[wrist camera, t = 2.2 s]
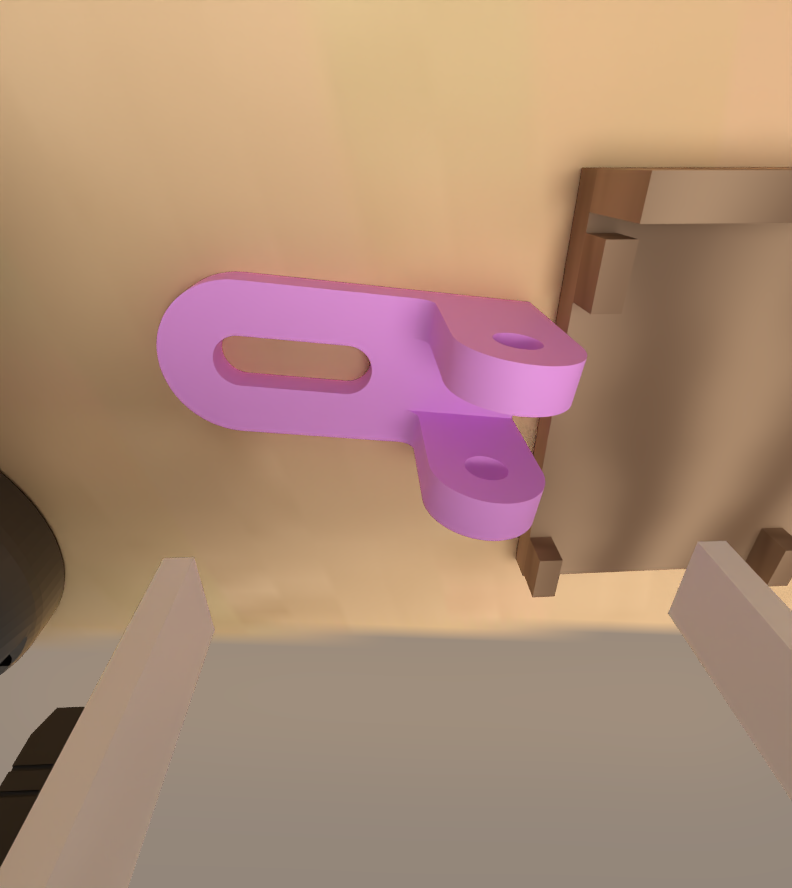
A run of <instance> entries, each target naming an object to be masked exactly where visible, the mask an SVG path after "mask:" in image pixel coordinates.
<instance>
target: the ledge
mask: <svg viewBox="0 0 792 888" xmlns="http://www.w3.org/2000/svg"><path fill="white" fill-rule="evenodd" d="M556 325H557V326H558V327H559V328H560V329H561V330H563V331H564V332H565V333H566V334H567V335H569V336H570V337H571V338H572V339H573V340H574V341H576V342H577V343H578V344H579V345H580V346H581V347H582V348H584V349H585V351H586V352H587V359H586V362H585V365H584V368H583V371H582V374H581V377H580V380H579V383H578V386H577V389H576V392H575V396H574V399H573V402H572V405H571V407H570V408H569V409H568V410H567V411H565V412H564V413H561V414H558V415H554V416H548V417H540V419H539V425H538V431H537V437H536V442H535V448H534V454H533V456H534V458H535V460H536V461H537V463H538V465H539V467H540V468H541V470H542V472H543V474H544V477H545V487H544V490H543V493H542V496H541V499H540V502H539V505H538V508H537V511H536V514H535V517H534V520H533V523H532V525H531V527H530V528H529V530H528V531H526V532H525V533H524V534H522V535H520V537H519V543H518V548H517V554H516V560H517V562H518V565H519V568H520V570H521V573H522V575H523V576H525V579H526V581H527V584H528V587H529V589H530V592H531V594H532V597H549V596H555V592H556V587H557V583H558V579H559V575H560V574H576V573H598V572H621V571H644V570H667V569H687V566H688V564H689V562H690V559H691V557H692V554H693V552H694V549H695V547H696V545H697V542H706V541H726V542H727V543H728V544H729V545H730V546H731V547H732V548H733V549H734V550H735V551H736V552H737V553H738V554H739V555H740V556H741V558H742V559H743V560H744V561H745V562H746V563H747V564H748V565H749V566H750V567H751V568H752V569H753V570H754V571H755V572H756V574H757V575H758V576H759V577H760V578H761V579H762V580H763V581H764V582H765V583H766V584H767V585H768V586H787V585H788V583H789V582H790V580H791V578H792V167H752V168H582V172H581V178H580V184H579V189H578V195H577V201H576V207H575V213H574V219H573V225H572V231H571V237H570V242H569V248H568V254H567V260H566V266H565V272H564V278H563V284H562V290H561V295H560V301H559V307H558V313H557V319H556Z"/></svg>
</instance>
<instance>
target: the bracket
mask: <svg viewBox="0 0 792 888" xmlns="http://www.w3.org/2000/svg"><path fill="white" fill-rule="evenodd" d="M229 336H247V337H258V338H269V339H280V340H291V341H302V342H313V343H324V344H335V345H346V346H352V347H355V348H358V349H360V350H361V351H362V352H364V353H365V354H366V355H367V357H368V358H369V360H370V362H371V365H370V367H369V369H368V371H367V372H366V373H365V374H364V375H363V376H362V377H360V378H358V379H356V380H351V381H343V380H331V379H319V378H307V377H295V376H283V375H271V374H260V373H248V372H243V371H240V370H238V369H236V368H234V367H233V366H232V365H231V364H230V363H229V362H228V361H227V360H226V358H225V356H224V354H223V351H222V340H223V339H224V338H226V337H229ZM157 356H158V361H159V365H160V368H161V371H162V373H163V376H164V378H165V380H166V382H167V384H168V385H169V387H170V388H171V390H172V391H173V392H174V394H175V395H176V396H177V397H178V399H179V400H180V401H181V402H182V403H183V404H184V405H185V406H187V407H188V408H189V409H190V410H191V411H193V412H194V413H195V414H197V415H198V416H200V417H202V418H203V419H205V420H207V421H209V422H211V423H214V424H216V425H219V426H222V427H225V428H229V429H234V430H241V431H254V432H268V433H283V434H297V435H311V436H325V437H340V438H354V439H368V440H382V441H396V442H404V443H407V444H409V445H411V446H412V447H413V449H414V454H415V459H416V465H417V471H418V476H419V482H420V488H421V494H422V499H423V503H424V506H425V508H426V509H427V511H428V512H429V514H430V515H431V516H432V517H433V518H434V519H435V520H436V521H438V522H439V523H440V524H442V525H443V526H445V527H446V528H448V529H450V530H452V531H454V532H456V533H458V534H461V535H464V536H467V537H470V538H474V539H479V540H487V541H501V540H508V539H512V538H516V537H518V536H520V535H522V534H524V533H525V532H526V531H528V530H529V528H530V527H531V525H532V523H533V520H534V517H535V514H536V511H537V508H538V505H539V502H540V499H541V496H542V493H543V490H544V487H545V477H544V474H543V472H542V470H541V468H540V467H539V465H538V463H537V461H536V460H535V458H534V456H533V454H532V453H531V451H530V449H529V447H528V446H527V444H526V442H525V441H524V439H523V437H522V435H521V434H520V432H519V430H518V428H517V427H516V425H515V423H514V421H513V420H512V416H513V415H514V416H522V417H548V416H554V415H558V414H561V413H564V412H565V411H567V410H568V409H569V408H570V407H571V405H572V402H573V399H574V396H575V392H576V389H577V386H578V383H579V380H580V377H581V374H582V371H583V368H584V365H585V362H586V359H587V352H586V351H585V349H584V348H582V347H581V346H580V345H579V344H578V343H577V342H576V341H574V340H573V339H572V338H571V337H570V336H569V335H567V334H566V333H565V332H564V331H563V330H561V329H560V328H559V327H558V326H557V325H556V324H554V323H553V322H552V321H551V320H550V319H549V318H547V317H546V316H545V315H544V314H543V313H542V312H540V311H539V310H538V309H537V308H536V307H535V306H533V305H532V304H531V303H530V302H524V301H515V300H505V299H496V298H486V297H477V296H467V295H458V294H448V293H439V292H429V291H420V290H410V289H401V288H391V287H382V286H372V285H363V284H353V283H344V282H334V281H325V280H315V279H306V278H296V277H287V276H277V275H268V274H258V273H249V272H225V273H219V274H215V275H212V276H209V277H207V278H205V279H202V280H201V281H199V282H197V283H196V284H194V285H193V286H191V287H190V288H189V289H187V290H186V291H185V292H183V293H182V294H181V295H180V296H178V297H177V298H176V299H175V300H174V301H173V302H172V303H171V305H170V306H169V307H168V309H167V310H166V312H165V314H164V315H163V317H162V320H161V322H160V325H159V329H158V333H157Z"/></svg>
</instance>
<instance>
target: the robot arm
mask: <svg viewBox="0 0 792 888" xmlns="http://www.w3.org/2000/svg"><path fill="white" fill-rule="evenodd" d="M63 588H64V565H63V561H62V556H61V553H60V550H59V547H58V545H57V542H56V540H55V538H54V536H53V534H52V532H51V530H50V528H49V527H48V525H47V523H46V522H45V520H44V519H43V517H42V516H41V515H40V513H39V512H38V510H37V509H36V508H35V507H34V505H33V504H32V503H31V502H30V501H29V499H28V498H27V497H26V496H25V495H24V494H23V493H22V492H21V491H20V490H19V489H18V488H17V487H16V486H15V485H14V484H13V483H12V482H11V481H10V480H9V479H7V478H6V477H5V476H4V475H3V474H1V473H0V675H1V674H2V673H3V672H5V671H6V670H7V669H8V668H10V667H11V666H12V665H13V664H14V663H16V662H17V661H18V660H19V659H20V658H21V656H23V654H24V653H25V652H26V651H27V650H28V649H29V648H30V646H31V645H32V644H33V642H34V641H35V639H36V638H37V636H38V635H39V634H40V632H41V631H42V629H43V628H44V626H45V625H46V623H47V622H48V620H49V619H50V618H51V616H52V615H53V613H54V612H55V610H56V608H57V606H58V604H59V602H60V600H61V597H62V593H63ZM668 614H669V615H670V617H671V619H672V620H673V622H674V623H675V625H676V626H677V628H678V629H679V631H680V632H681V634H682V635H683V637H684V638H685V640H686V641H687V643H688V644H689V646H690V647H691V649H692V650H693V652H694V653H695V655H696V656H697V658H698V660H699V661H700V663H701V664H702V665H703V667H704V668H705V670H706V672H707V673H708V675H709V676H710V678H711V679H712V681H713V682H714V684H715V685H716V687H717V688H718V690H719V691H720V693H721V694H722V696H723V697H724V699H725V700H726V702H727V704H728V705H729V707H730V708H731V710H732V711H733V713H734V714H735V716H736V717H737V719H738V720H739V722H740V723H741V725H742V726H743V728H744V729H745V731H746V732H747V734H748V735H749V737H750V738H751V740H752V742H753V743H754V745H755V746H756V748H757V749H758V751H759V752H760V754H761V755H762V757H763V758H764V760H765V761H766V763H767V764H768V766H769V767H770V769H771V770H772V772H773V773H774V775H775V776H776V778H777V779H778V781H779V783H780V784H781V785H782V787H783V788H784V790H785V791H786V793H787V795H788V796H789V798H790V799H791V801H792V611H791V610H790V609H789V608H788V607H787V606H786V604H785V603H784V602H783V601H782V600H781V599H780V598H779V597H778V596H777V595H776V594H775V593H774V592H773V591H772V590H771V588H770V587H769V586H768V585H767V584H766V583H765V582H764V581H763V580H762V579H761V578H760V577H759V576H758V575H757V574H756V572H755V571H754V570H753V569H752V568H751V567H750V566H749V565H748V564H747V563H746V562H745V561H744V560H743V559H742V558H741V556H740V555H739V554H738V553H737V552H736V551H735V550H734V549H733V548H732V547H731V546H730V545H729V544H728V543H727V542H726V541H706V542H697V545H696V547H695V549H694V552H693V554H692V557H691V559H690V562H689V564H688V566H687V569H686V571H685V574H684V576H683V579H682V581H681V583H680V586H679V588H678V591H677V593H676V596H675V598H674V601H673V603H672V605H671V608H670V610H669V613H668ZM214 630H215V629H214V626H213V622H212V619H211V615H210V612H209V608H208V605H207V601H206V597H205V594H204V590H203V587H202V583H201V580H200V576H199V573H198V569H197V566H196V562H195V558H194V557H182V558H163V560H162V562H161V564H160V566H159V568H158V569H157V571H156V573H155V575H154V577H153V579H152V581H151V583H150V585H149V587H148V588H147V590H146V592H145V594H144V596H143V598H142V600H141V602H140V604H139V605H138V607H137V609H136V611H135V613H134V615H133V617H132V619H131V621H130V623H129V624H128V626H127V628H126V630H125V632H124V634H123V636H122V638H121V640H120V642H119V643H118V645H117V647H116V649H115V651H114V653H113V655H112V657H111V659H110V661H109V663H108V664H107V666H106V668H105V670H104V672H103V674H102V676H101V678H100V679H99V682H98V683H97V685H96V687H95V689H94V691H93V693H92V695H91V697H90V698H89V700H88V702H87V704H86V706H85V707H67V708H57V709H56V710H55V711H54V712H53V713H52V714H51V715H50V716H49V717H48V718H47V719H46V720H45V721H44V722H43V723H42V724H41V725H40V726H39V727H38V728H37V729H36V730H35V731H34V732H33V733H32V734H31V735H30V737H29V739H28V740H27V742H26V744H25V746H24V747H23V749H22V750H21V752H20V754H19V755H18V757H17V759H16V761H15V762H14V764H13V769H12V771H11V772H8V774H7V776H6V777H5V779H4V781H3V782H2V784H1V786H0V888H128V886H129V883H130V880H131V877H132V874H133V871H134V868H135V865H136V862H137V859H138V856H139V853H140V850H141V847H142V844H143V841H144V838H145V835H146V832H147V829H148V826H149V823H150V820H151V818H152V815H153V811H154V808H155V806H156V803H157V800H158V797H159V794H160V791H161V788H162V785H163V782H164V779H165V776H166V773H167V770H168V767H169V764H170V761H171V758H172V755H173V752H174V749H175V746H176V743H177V740H178V737H179V734H180V731H181V728H182V725H183V722H184V719H185V716H186V714H187V710H188V707H189V704H190V702H191V699H192V696H193V693H194V690H195V686H196V684H197V681H198V678H199V675H200V672H201V669H202V666H203V663H204V660H205V657H206V654H207V651H208V648H209V645H210V642H211V639H212V636H213V633H214Z"/></svg>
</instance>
